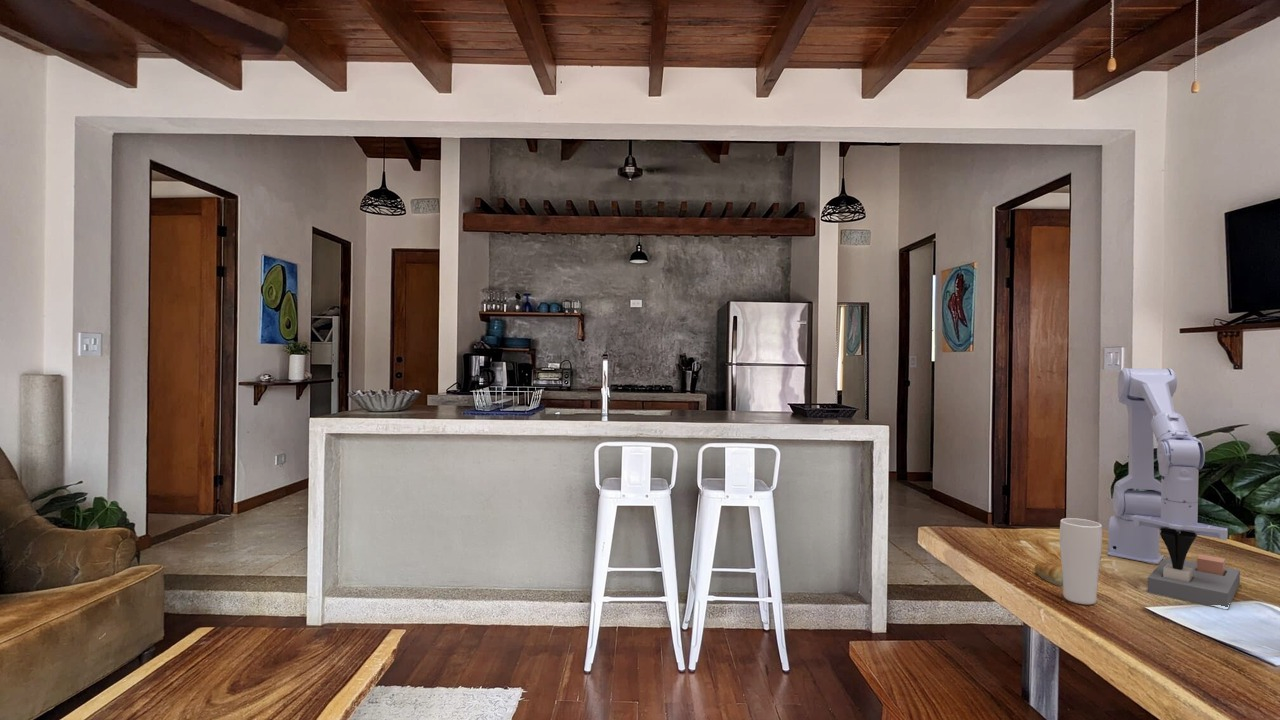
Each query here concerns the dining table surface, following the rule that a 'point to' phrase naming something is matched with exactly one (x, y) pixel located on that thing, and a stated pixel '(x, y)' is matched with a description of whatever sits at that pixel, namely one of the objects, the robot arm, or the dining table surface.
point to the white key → (1177, 573)
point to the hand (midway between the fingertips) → (1177, 568)
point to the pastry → (1050, 572)
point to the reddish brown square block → (1211, 564)
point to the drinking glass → (1080, 559)
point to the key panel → (1196, 585)
